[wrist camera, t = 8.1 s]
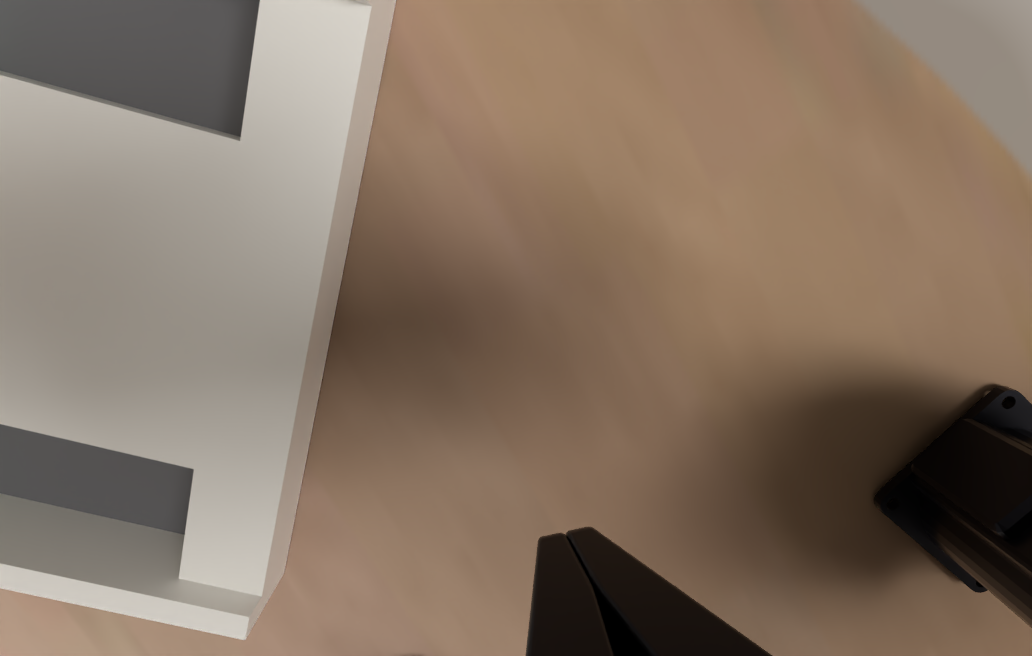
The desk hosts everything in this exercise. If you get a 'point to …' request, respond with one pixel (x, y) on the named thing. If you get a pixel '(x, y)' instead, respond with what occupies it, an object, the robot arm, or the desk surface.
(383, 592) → the desk surface
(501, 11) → the desk surface
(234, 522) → the box
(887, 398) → the desk surface
